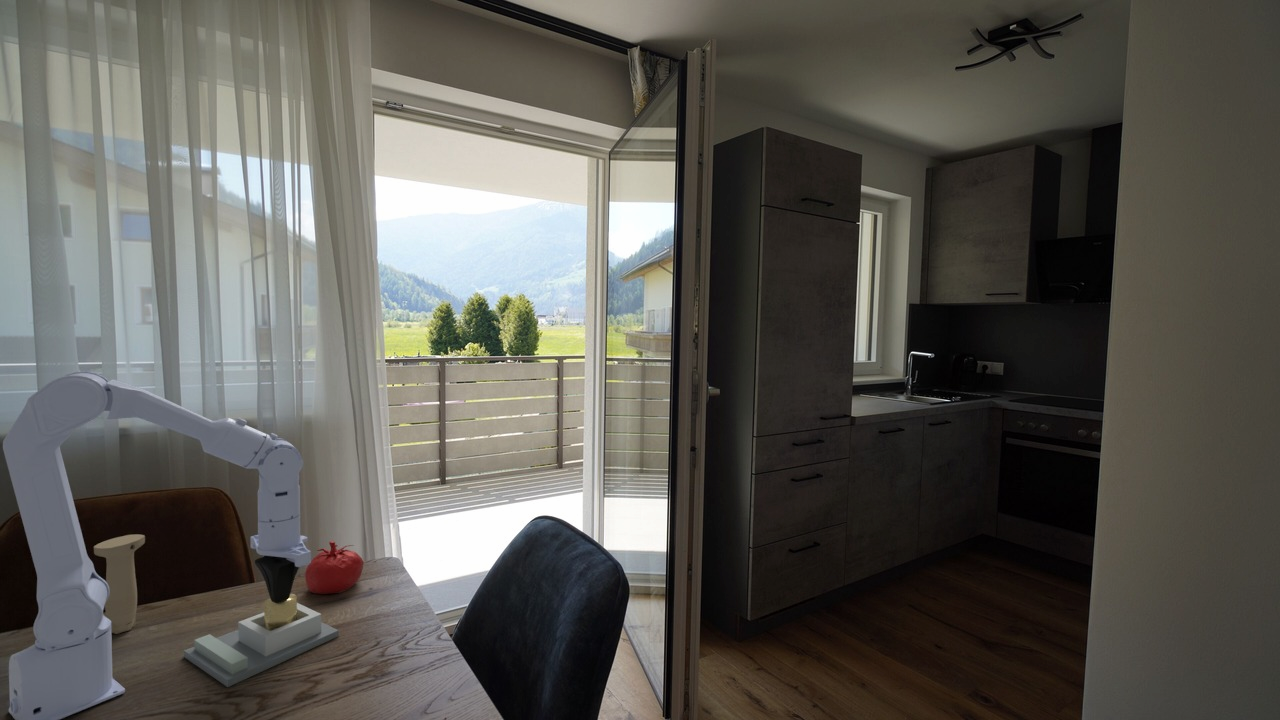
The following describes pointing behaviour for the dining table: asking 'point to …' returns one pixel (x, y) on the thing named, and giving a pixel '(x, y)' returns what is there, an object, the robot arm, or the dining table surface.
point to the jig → (258, 646)
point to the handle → (120, 580)
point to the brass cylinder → (280, 612)
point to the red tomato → (333, 570)
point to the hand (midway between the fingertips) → (280, 599)
